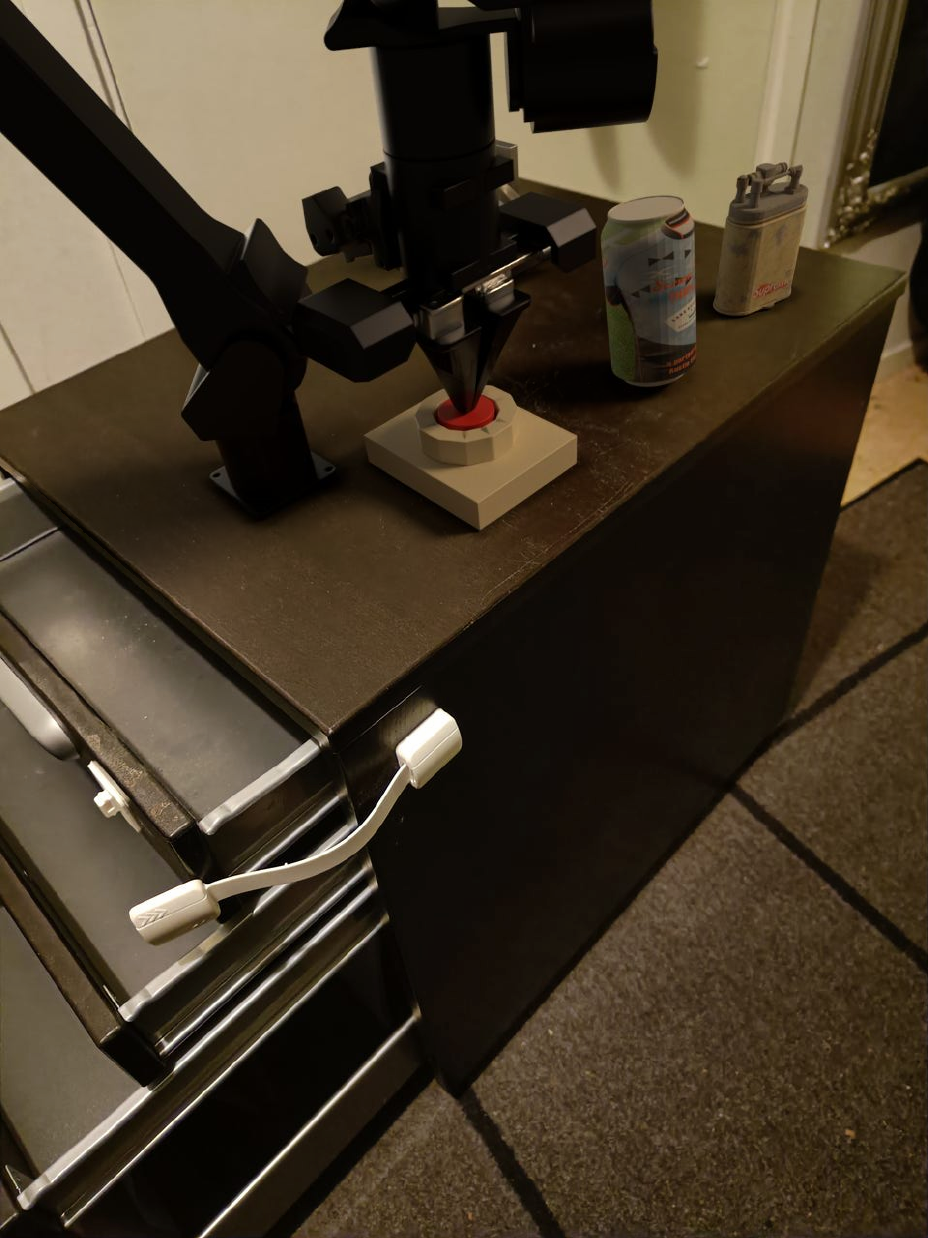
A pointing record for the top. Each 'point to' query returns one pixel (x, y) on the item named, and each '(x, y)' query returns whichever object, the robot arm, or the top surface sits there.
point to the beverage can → (650, 289)
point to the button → (466, 416)
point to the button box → (472, 456)
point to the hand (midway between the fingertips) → (465, 409)
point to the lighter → (761, 240)
